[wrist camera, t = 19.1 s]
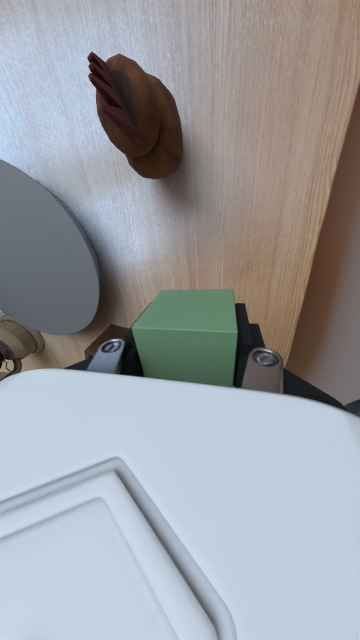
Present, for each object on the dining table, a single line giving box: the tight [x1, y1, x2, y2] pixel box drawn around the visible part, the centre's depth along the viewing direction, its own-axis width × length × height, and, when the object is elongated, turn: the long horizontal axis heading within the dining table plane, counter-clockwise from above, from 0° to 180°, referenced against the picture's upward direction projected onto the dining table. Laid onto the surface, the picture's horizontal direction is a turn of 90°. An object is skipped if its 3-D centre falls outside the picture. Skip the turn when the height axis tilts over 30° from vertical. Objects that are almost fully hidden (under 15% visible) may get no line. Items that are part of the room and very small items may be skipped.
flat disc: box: [0, 160, 101, 335], centre depth 32 cm, size 28×28×4 cm
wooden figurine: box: [87, 52, 183, 179], centre depth 15 cm, size 7×6×15 cm
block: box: [132, 290, 238, 387], centre depth 10 cm, size 4×4×4 cm
